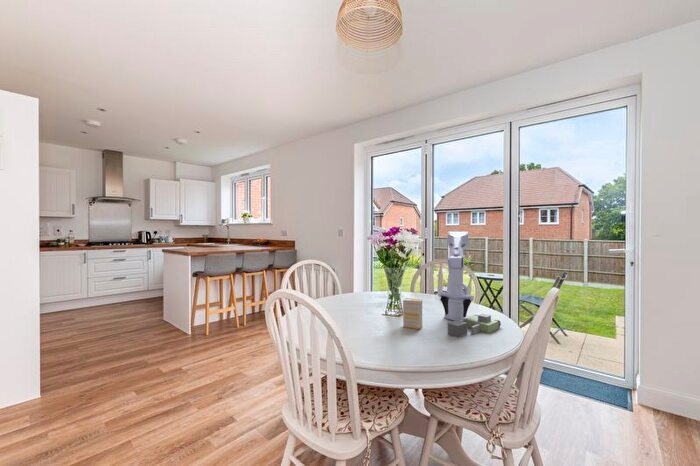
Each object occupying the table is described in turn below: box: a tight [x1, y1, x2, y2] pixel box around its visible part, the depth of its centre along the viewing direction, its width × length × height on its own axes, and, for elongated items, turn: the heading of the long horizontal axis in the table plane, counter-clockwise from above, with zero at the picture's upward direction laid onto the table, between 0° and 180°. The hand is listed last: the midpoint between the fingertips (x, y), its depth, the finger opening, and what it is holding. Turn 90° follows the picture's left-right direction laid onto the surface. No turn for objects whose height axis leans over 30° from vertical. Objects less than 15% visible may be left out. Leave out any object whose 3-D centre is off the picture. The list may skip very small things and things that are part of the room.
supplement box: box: [402, 297, 423, 330], centre depth 144 cm, size 8×5×13 cm, turn 65°
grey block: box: [447, 320, 468, 338], centre depth 135 cm, size 5×7×5 cm
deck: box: [460, 313, 502, 335], centre depth 142 cm, size 12×18×6 cm
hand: (455, 315), depth 134 cm, fingers open, 7 cm apart
